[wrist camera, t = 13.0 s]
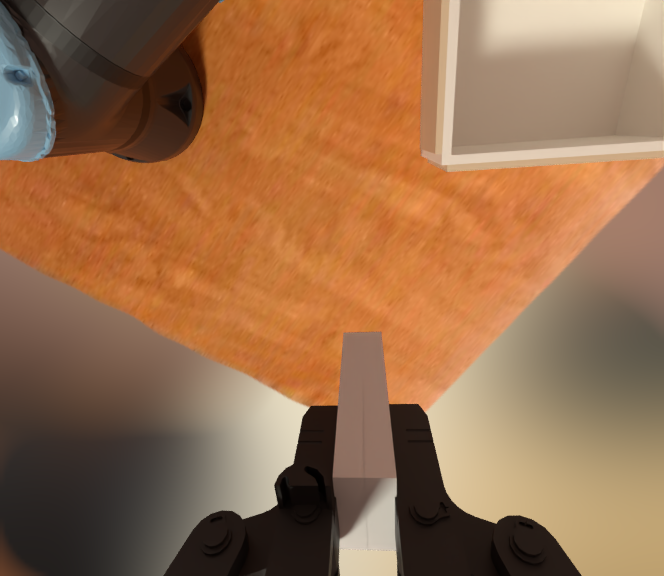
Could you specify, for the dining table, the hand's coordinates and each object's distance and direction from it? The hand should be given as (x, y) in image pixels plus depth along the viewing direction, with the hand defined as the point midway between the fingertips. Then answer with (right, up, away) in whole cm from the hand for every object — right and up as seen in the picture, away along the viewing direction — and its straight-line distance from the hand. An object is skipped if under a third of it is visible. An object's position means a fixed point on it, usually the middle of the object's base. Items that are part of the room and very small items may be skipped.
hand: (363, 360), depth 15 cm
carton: (+20, +28, +24) cm, 41 cm away
